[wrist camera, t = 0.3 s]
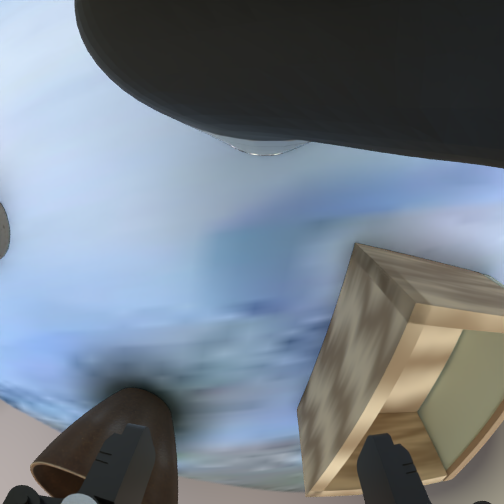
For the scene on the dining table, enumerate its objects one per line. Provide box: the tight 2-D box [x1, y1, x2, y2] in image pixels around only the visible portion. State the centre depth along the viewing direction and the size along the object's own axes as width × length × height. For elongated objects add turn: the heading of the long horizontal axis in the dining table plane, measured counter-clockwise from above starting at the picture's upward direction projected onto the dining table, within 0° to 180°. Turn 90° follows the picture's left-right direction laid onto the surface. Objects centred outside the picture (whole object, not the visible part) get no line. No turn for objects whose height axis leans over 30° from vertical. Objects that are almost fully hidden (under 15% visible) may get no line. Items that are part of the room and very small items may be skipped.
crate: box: [297, 243, 504, 497], centre depth 23 cm, size 20×16×12 cm
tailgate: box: [417, 274, 504, 481], centre depth 23 cm, size 20×1×12 cm, turn 169°
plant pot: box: [30, 388, 178, 504], centre depth 25 cm, size 15×15×16 cm
